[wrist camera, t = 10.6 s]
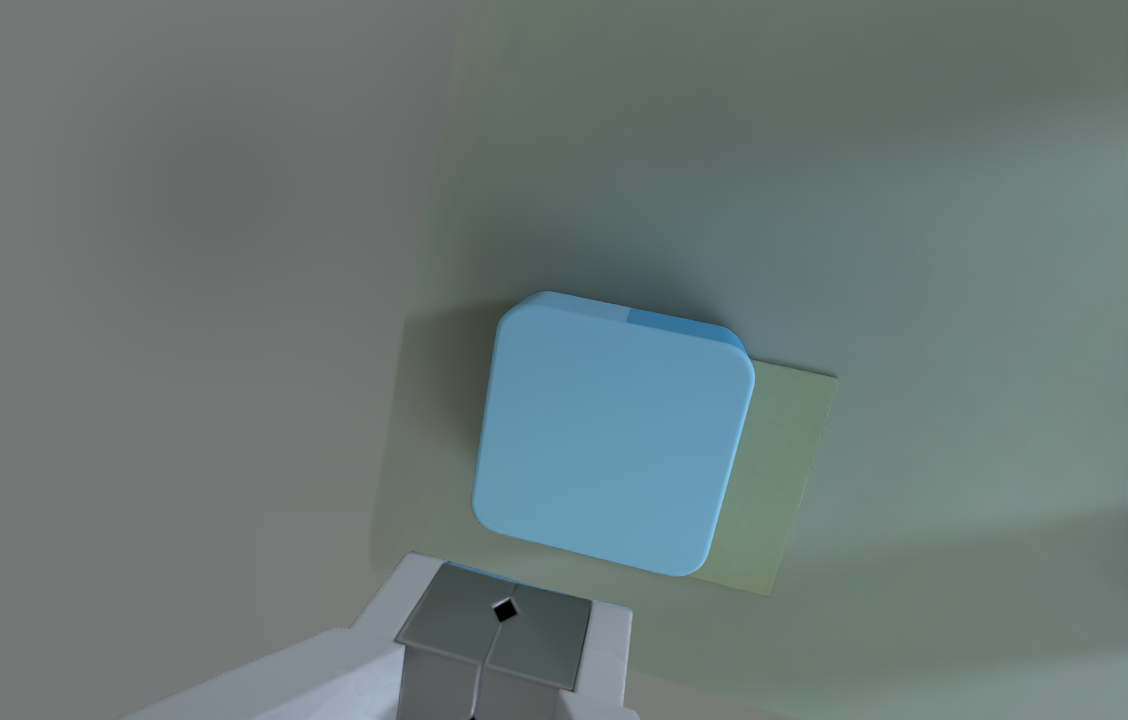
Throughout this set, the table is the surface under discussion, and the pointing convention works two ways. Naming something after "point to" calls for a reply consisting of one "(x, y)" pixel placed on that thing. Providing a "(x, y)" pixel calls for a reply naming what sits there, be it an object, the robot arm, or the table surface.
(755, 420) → the mat
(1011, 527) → the table surface
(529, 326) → the data package
